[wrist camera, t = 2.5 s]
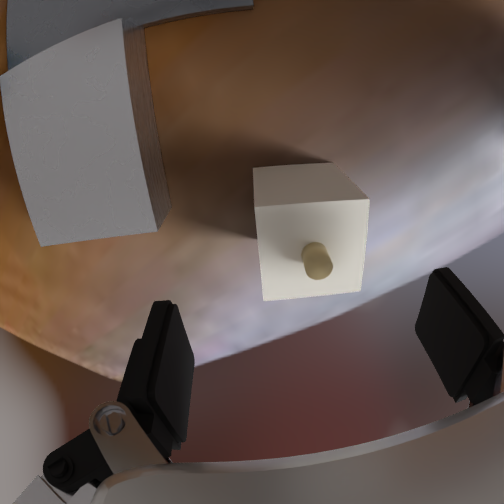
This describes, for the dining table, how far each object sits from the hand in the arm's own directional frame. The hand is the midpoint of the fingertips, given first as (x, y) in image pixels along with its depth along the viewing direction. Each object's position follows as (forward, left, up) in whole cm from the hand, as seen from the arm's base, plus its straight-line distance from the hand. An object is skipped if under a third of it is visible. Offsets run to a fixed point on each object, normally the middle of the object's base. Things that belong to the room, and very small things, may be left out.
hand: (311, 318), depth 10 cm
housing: (-1, 0, -11) cm, 11 cm away
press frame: (+9, -11, -10) cm, 18 cm away
